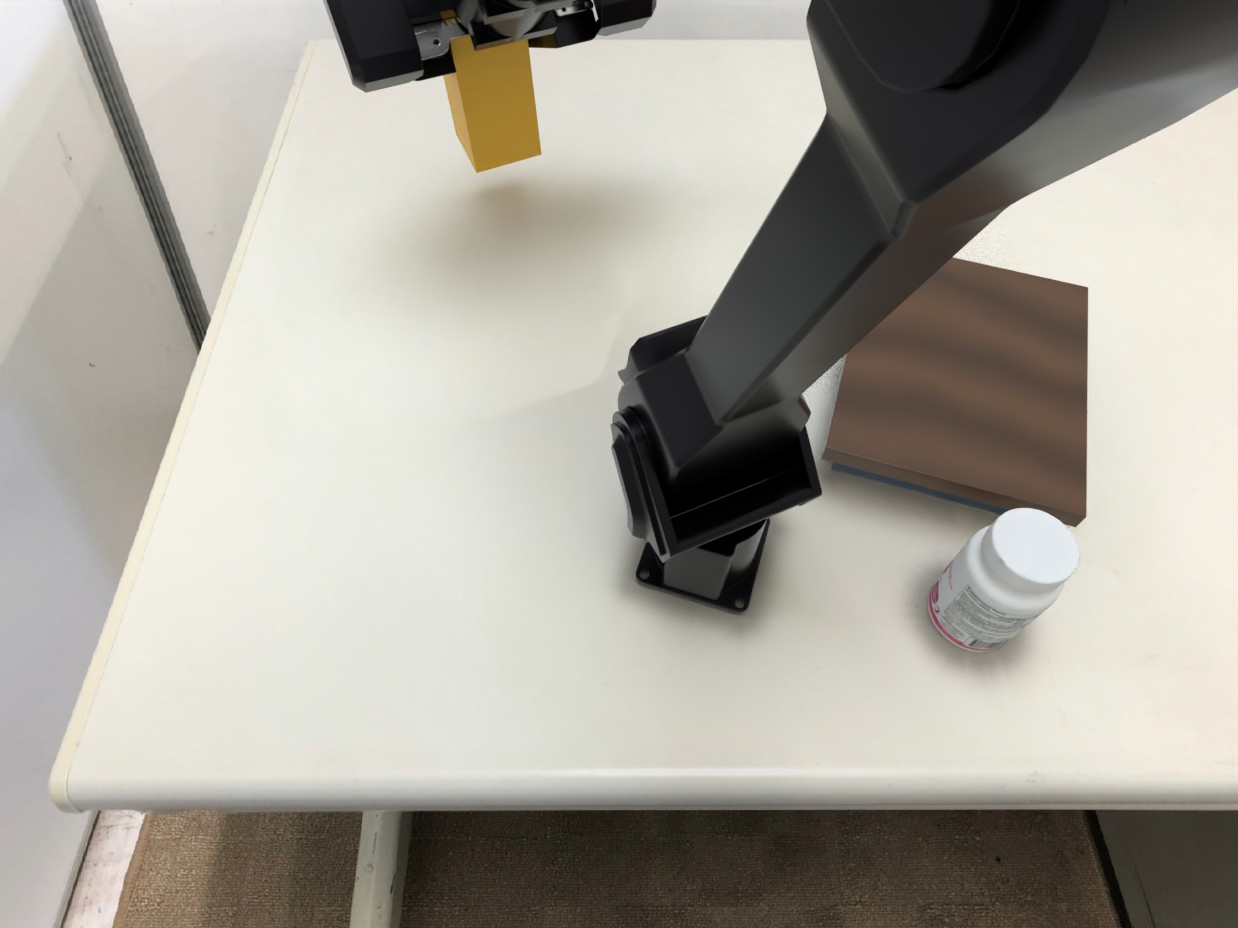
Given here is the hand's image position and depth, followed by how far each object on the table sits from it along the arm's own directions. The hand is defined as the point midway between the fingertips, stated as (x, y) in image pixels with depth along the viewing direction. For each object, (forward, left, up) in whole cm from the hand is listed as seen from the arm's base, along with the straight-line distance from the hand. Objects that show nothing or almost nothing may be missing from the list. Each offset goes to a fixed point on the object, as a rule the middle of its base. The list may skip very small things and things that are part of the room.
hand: (477, 46), depth 54 cm
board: (-11, -36, -11) cm, 39 cm away
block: (-1, -1, -7) cm, 7 cm away
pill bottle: (-25, -39, -12) cm, 48 cm away
